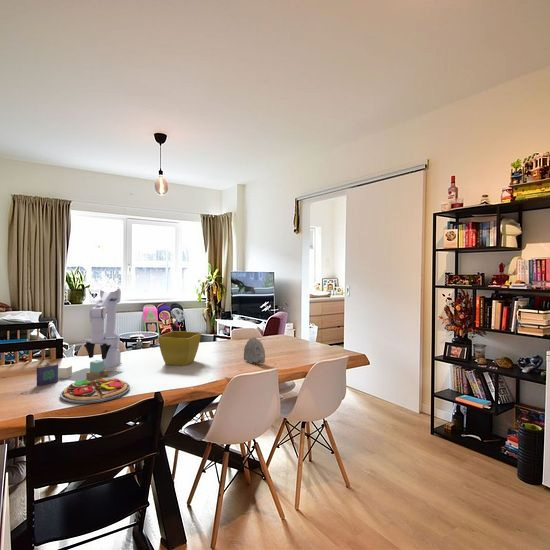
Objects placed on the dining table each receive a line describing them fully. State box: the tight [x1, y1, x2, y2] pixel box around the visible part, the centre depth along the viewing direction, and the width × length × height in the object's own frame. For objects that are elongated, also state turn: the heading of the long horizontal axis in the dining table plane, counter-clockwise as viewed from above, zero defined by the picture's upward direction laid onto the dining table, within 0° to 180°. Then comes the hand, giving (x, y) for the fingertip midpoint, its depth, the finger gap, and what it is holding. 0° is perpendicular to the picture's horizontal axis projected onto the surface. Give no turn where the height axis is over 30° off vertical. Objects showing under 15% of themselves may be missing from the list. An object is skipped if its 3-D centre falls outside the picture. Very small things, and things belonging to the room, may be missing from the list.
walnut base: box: [86, 369, 109, 380], centre depth 182 cm, size 7×7×3 cm
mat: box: [58, 367, 123, 382], centre depth 186 cm, size 20×24×1 cm
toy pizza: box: [59, 377, 131, 404], centre depth 161 cm, size 28×28×4 cm
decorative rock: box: [243, 337, 266, 365], centre depth 216 cm, size 16×7×15 cm, turn 36°
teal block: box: [89, 359, 105, 373], centre depth 182 cm, size 4×4×5 cm
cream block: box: [58, 365, 73, 378], centre depth 183 cm, size 4×4×5 cm
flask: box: [36, 361, 59, 387], centre depth 172 cm, size 9×3×11 cm, turn 144°
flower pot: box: [157, 330, 202, 367], centre depth 214 cm, size 19×19×17 cm
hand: (97, 358), depth 183 cm, fingers open, 7 cm apart
